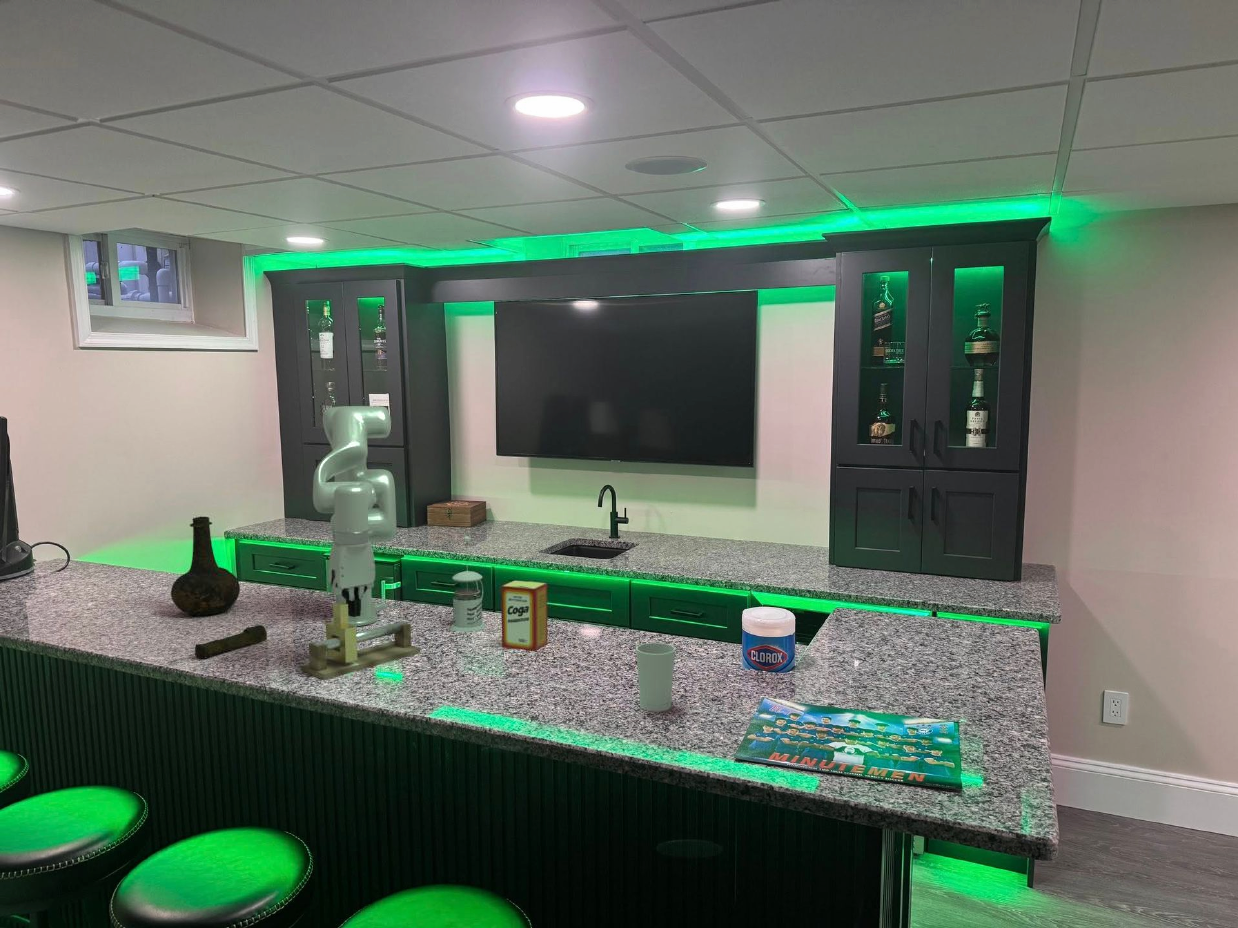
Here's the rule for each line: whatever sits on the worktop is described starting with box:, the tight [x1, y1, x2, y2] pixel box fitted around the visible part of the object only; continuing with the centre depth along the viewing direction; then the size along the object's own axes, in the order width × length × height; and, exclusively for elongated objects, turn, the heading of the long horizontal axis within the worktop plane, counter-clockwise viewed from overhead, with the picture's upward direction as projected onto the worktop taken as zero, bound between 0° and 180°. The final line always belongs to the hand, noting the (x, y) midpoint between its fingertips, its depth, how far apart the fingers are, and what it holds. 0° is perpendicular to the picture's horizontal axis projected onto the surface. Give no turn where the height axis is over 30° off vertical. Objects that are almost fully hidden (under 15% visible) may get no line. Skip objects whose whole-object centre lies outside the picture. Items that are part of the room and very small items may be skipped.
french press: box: [449, 535, 487, 633], centre depth 233 cm, size 10×12×25 cm
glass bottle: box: [170, 516, 241, 617], centre depth 247 cm, size 18×18×28 cm
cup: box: [635, 642, 676, 713], centre depth 173 cm, size 8×8×12 cm
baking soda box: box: [500, 580, 548, 652], centre depth 215 cm, size 10×6×16 cm
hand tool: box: [194, 624, 268, 660], centre depth 212 cm, size 19×4×5 cm, turn 148°
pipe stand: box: [300, 620, 421, 681], centre depth 202 cm, size 26×10×7 cm, turn 140°
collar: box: [325, 602, 358, 663], centre depth 198 cm, size 3×8×13 cm, turn 50°
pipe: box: [314, 621, 407, 652], centre depth 202 cm, size 24×3×3 cm, turn 140°
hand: (353, 615), depth 200 cm, fingers closed
